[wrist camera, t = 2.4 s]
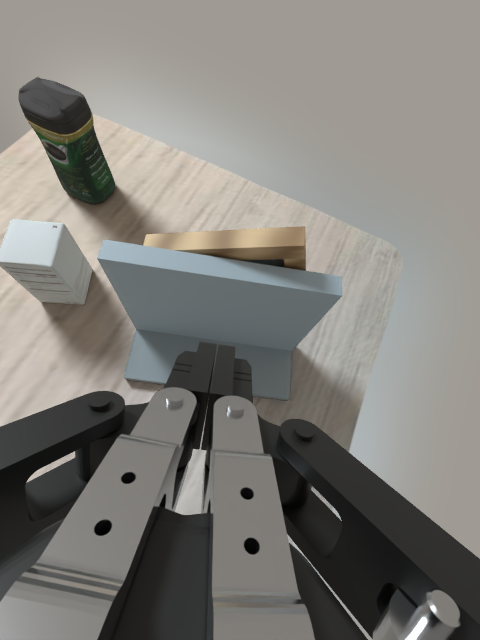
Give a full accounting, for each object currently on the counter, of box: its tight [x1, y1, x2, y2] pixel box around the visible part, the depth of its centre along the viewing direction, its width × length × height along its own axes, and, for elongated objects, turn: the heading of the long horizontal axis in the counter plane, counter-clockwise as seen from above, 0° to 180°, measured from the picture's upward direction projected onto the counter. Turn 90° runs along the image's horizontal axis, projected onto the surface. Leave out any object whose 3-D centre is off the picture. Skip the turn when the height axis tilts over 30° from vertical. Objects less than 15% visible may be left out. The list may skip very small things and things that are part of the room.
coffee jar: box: [19, 77, 115, 204], centre depth 54 cm, size 10×8×19 cm
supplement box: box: [0, 219, 93, 305], centre depth 48 cm, size 7×7×13 cm
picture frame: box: [143, 226, 306, 271], centre depth 40 cm, size 18×2×15 cm, turn 84°
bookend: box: [97, 239, 342, 401], centre depth 42 cm, size 26×10×22 cm, turn 84°
